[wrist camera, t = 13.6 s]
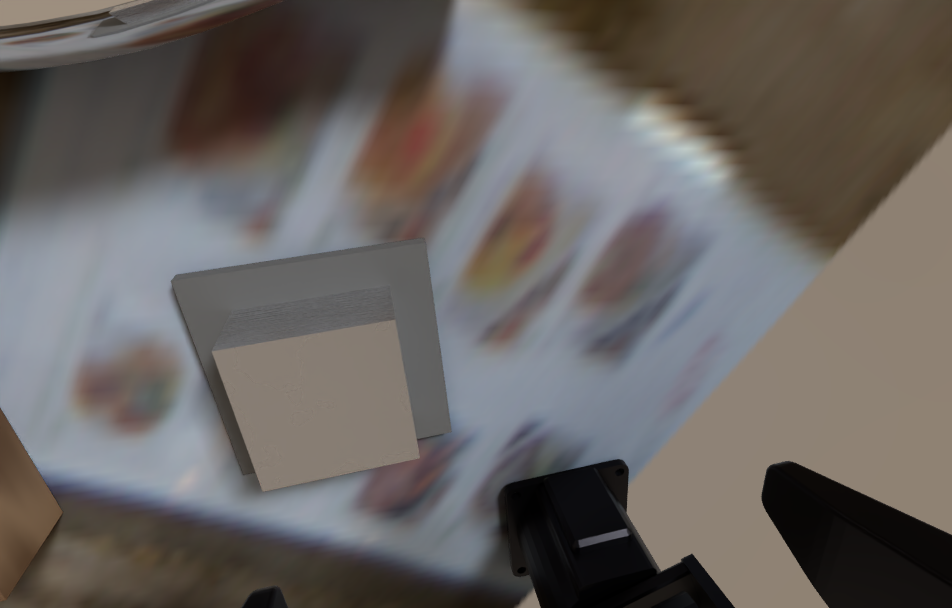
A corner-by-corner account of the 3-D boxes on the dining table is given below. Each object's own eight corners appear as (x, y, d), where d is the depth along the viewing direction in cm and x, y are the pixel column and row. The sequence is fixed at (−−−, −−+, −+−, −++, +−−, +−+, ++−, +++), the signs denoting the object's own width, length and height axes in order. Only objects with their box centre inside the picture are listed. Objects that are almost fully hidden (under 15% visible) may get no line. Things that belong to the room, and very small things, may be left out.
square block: (412, 411, 23) (419, 458, 20) (274, 438, 22) (262, 491, 19) (389, 284, 20) (395, 319, 17) (231, 311, 19) (211, 351, 16)
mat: (449, 423, 24) (451, 431, 24) (246, 465, 23) (243, 474, 22) (423, 237, 20) (425, 242, 20) (175, 275, 19) (171, 281, 18)
